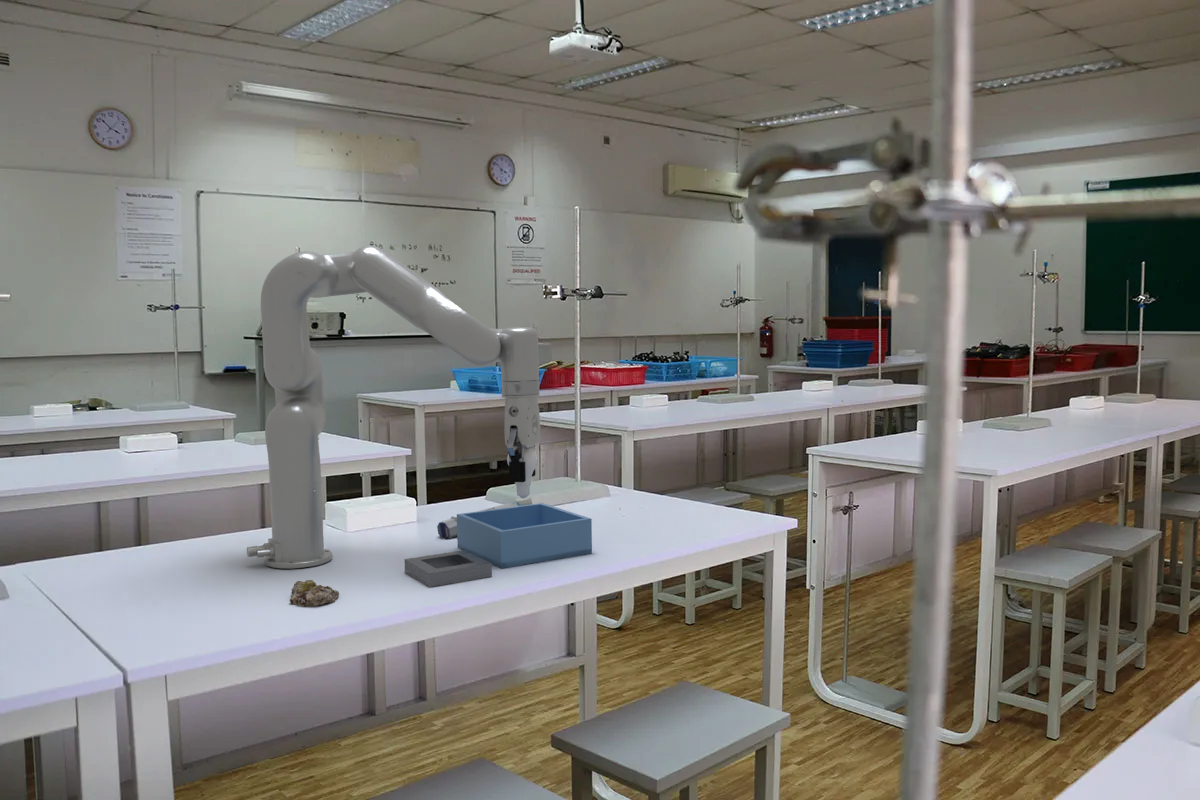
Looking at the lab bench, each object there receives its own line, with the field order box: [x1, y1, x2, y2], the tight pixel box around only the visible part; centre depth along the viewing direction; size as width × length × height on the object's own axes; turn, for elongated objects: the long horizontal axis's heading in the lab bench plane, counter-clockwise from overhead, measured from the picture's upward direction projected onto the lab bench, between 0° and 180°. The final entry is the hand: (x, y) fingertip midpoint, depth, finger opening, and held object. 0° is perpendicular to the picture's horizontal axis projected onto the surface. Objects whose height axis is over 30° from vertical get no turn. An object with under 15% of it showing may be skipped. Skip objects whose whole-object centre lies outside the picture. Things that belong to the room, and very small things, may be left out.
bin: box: [456, 502, 593, 569], centre depth 192 cm, size 20×20×7 cm
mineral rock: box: [289, 579, 340, 607], centre depth 161 cm, size 11×4×8 cm
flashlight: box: [436, 496, 533, 540], centre depth 212 cm, size 5×7×25 cm
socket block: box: [404, 549, 493, 588], centre depth 175 cm, size 12×12×2 cm
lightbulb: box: [506, 444, 539, 498], centre depth 191 cm, size 6×6×11 cm
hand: (522, 478), depth 191 cm, fingers closed on lightbulb, 6 cm apart
